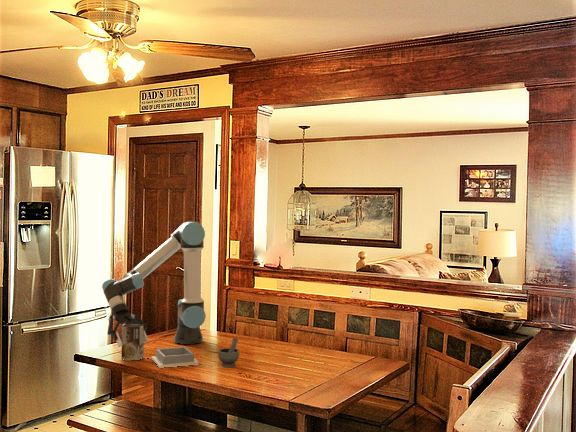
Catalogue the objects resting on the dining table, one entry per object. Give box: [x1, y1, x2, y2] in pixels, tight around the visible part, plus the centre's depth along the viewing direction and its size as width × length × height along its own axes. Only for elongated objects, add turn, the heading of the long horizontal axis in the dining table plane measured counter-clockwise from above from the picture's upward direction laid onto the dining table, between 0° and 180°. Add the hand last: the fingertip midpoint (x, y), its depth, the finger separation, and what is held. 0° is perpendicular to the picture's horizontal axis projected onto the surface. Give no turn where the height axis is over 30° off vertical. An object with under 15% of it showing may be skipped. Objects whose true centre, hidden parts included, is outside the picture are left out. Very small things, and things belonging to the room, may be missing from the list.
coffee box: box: [121, 323, 145, 361], centre depth 287 cm, size 9×6×16 cm
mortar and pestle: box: [217, 337, 240, 368], centre depth 278 cm, size 11×9×12 cm
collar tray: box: [150, 346, 200, 369], centre depth 282 cm, size 18×18×5 cm
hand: (133, 343), depth 285 cm, fingers open, 13 cm apart
